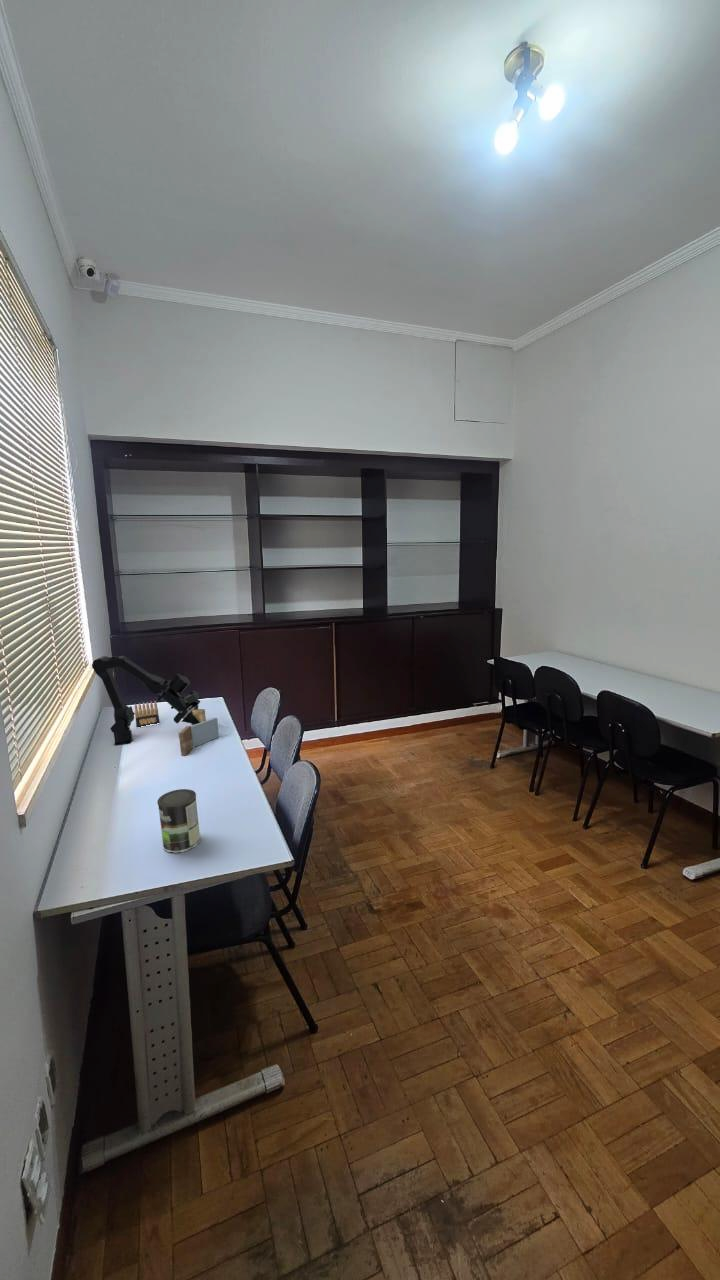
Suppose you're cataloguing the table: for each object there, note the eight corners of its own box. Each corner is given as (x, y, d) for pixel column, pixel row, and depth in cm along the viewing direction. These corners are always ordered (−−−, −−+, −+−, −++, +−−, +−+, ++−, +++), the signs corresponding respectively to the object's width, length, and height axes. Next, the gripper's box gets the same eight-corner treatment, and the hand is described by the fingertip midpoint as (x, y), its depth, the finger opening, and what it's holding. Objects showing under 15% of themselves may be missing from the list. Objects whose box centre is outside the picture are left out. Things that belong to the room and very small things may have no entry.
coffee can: (172, 858, 140) (167, 810, 137) (157, 843, 147) (151, 798, 144) (207, 842, 147) (202, 796, 144) (190, 829, 154) (185, 785, 151)
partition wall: (181, 756, 210) (178, 732, 208) (188, 748, 218) (186, 726, 216) (186, 755, 210) (183, 732, 208) (193, 748, 218) (190, 725, 216)
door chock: (193, 739, 228) (190, 712, 225) (196, 735, 231) (193, 709, 229) (204, 738, 227) (201, 711, 225) (207, 735, 231) (204, 709, 229)
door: (192, 746, 220) (190, 726, 218) (217, 736, 230) (215, 717, 228) (193, 746, 219) (191, 726, 217) (219, 737, 229) (217, 717, 227)
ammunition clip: (136, 728, 248) (133, 704, 245) (136, 726, 249) (133, 703, 247) (160, 724, 252) (157, 700, 249) (159, 723, 253) (157, 699, 251)
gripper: (177, 693, 216) (206, 717, 218) (194, 681, 235) (220, 704, 236) (161, 711, 218) (189, 735, 219) (179, 698, 236) (204, 721, 238)
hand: (201, 723), depth 228 cm, fingers closed on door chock, 4 cm apart
